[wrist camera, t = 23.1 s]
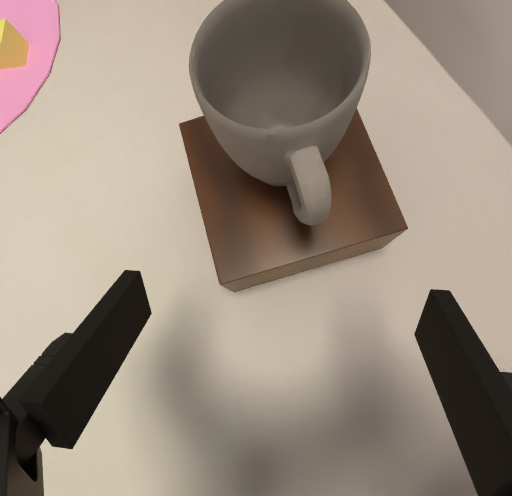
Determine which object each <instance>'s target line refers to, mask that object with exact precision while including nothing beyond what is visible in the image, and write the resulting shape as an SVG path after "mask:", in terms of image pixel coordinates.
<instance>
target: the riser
mask: <svg viewBox="0 0 512 496" xmlns="http://www.w3.org/2000/svg"><path fill="white" fill-rule="evenodd" d="M179 126H180V130H181V134H182V138H183V142H184V146H185V150H186V154H187V158H188V162H189V166H190V170H191V173H192V177H193V181H194V185H195V189H196V193H197V197H198V201H199V205H200V209H201V213H202V217H203V221H204V225H205V229H206V233H207V237H208V240H209V244H210V248H211V252H212V256H213V260H214V264H215V268H216V272H217V276H218V280H219V284H220V285H222V286H224V287H226V288H228V289H230V290H232V291H234V292H235V291H239V290H242V289H246V288H249V287H252V286H256V285H259V284H262V283H266V282H269V281H272V280H276V279H279V278H283V277H286V276H289V275H293V274H296V273H299V272H303V271H306V270H309V269H313V268H316V267H320V266H323V265H326V264H330V263H333V262H336V261H340V260H343V259H346V258H350V257H353V256H357V255H360V254H363V253H367V252H370V251H373V250H377V249H380V248H383V247H384V246H386V245H387V244H388V243H390V242H391V241H392V240H394V239H395V238H396V237H398V236H399V235H400V234H401V233H403V232H404V231H405V230H407V229H408V227H407V225H406V222H405V220H404V218H403V215H402V213H401V211H400V208H399V206H398V204H397V201H396V199H395V197H394V194H393V192H392V190H391V187H390V185H389V183H388V180H387V178H386V176H385V173H384V171H383V169H382V166H381V164H380V162H379V159H378V157H377V155H376V152H375V150H374V148H373V145H372V143H371V141H370V138H369V136H368V134H367V131H366V129H365V127H364V124H363V122H362V120H361V117H360V115H359V113H358V110H357V108H356V110H355V113H354V115H353V117H352V120H351V122H350V124H349V126H348V128H347V130H346V132H345V134H344V136H343V137H342V139H341V141H340V142H339V144H338V145H337V147H336V148H335V150H334V151H333V152H332V154H331V155H330V156H329V157H328V159H327V160H326V161H325V162H324V166H325V168H326V171H327V174H328V177H329V181H330V187H331V210H330V214H329V216H328V217H327V219H326V220H325V221H324V222H322V223H319V224H316V225H307V224H304V223H302V222H300V221H299V220H298V218H297V217H296V215H295V214H294V211H293V205H292V201H291V198H290V195H289V192H288V189H287V186H273V185H269V184H267V183H264V182H263V181H261V180H259V179H257V178H255V177H253V176H251V175H250V174H248V173H247V172H245V171H244V170H243V169H242V168H240V167H239V166H238V165H237V164H236V163H235V162H234V161H233V160H232V159H231V158H230V157H229V155H228V154H227V153H226V152H225V150H224V149H223V148H222V146H221V145H220V143H219V142H218V140H217V138H216V137H215V135H214V133H213V132H212V130H211V128H210V126H209V124H208V122H207V120H206V118H205V116H202V117H199V118H195V119H192V120H189V121H186V122H183V123H180V124H179Z"/></svg>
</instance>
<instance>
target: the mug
mask: <svg viewBox="0 0 512 496" xmlns="http://www.w3.org/2000/svg"><path fill="white" fill-rule="evenodd" d="M370 57H371V46H370V39H369V35H368V32H367V29H366V27H365V25H364V23H363V21H362V19H361V17H360V15H359V14H358V13H357V11H356V10H355V9H354V8H353V6H352V5H351V4H350V3H349V2H348V1H347V0H224V1H223V2H222V3H220V4H219V5H218V6H217V7H216V8H215V9H214V10H213V11H212V12H211V13H210V14H209V15H208V16H207V17H206V19H205V20H204V21H203V23H202V24H201V26H200V28H199V30H198V32H197V34H196V36H195V39H194V41H193V44H192V47H191V51H190V58H189V72H190V78H191V82H192V86H193V89H194V93H195V96H196V98H197V101H198V103H199V105H200V108H201V110H202V112H203V114H204V116H205V118H206V120H207V122H208V124H209V126H210V128H211V130H212V132H213V133H214V135H215V137H216V138H217V140H218V142H219V143H220V145H221V146H222V148H223V149H224V150H225V152H226V153H227V154H228V155H229V157H230V158H231V159H232V160H233V161H234V162H235V163H236V164H237V165H238V166H239V167H240V168H242V169H243V170H244V171H245V172H247V173H248V174H250V175H251V176H253V177H255V178H257V179H259V180H261V181H263V182H264V183H267V184H269V185H273V186H287V189H288V192H289V195H290V198H291V201H292V205H293V211H294V214H295V215H296V217H297V218H298V220H299V221H300V222H302V223H304V224H307V225H316V224H319V223H322V222H324V221H325V220H326V219H327V217H328V216H329V214H330V210H331V187H330V181H329V177H328V174H327V171H326V168H325V166H324V162H325V161H326V160H327V159H328V157H329V156H330V155H331V154H332V152H333V151H334V150H335V148H336V147H337V145H338V144H339V142H340V141H341V139H342V137H343V136H344V134H345V132H346V130H347V128H348V126H349V124H350V122H351V120H352V117H353V115H354V113H355V110H356V108H357V105H358V102H359V100H360V97H361V94H362V92H363V88H364V85H365V82H366V79H367V75H368V70H369V65H370Z"/></svg>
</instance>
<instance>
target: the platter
mask: <svg viewBox="0 0 512 496" xmlns="http://www.w3.org/2000/svg"><path fill="white" fill-rule="evenodd" d="M59 41H60V24H59V6H58V4H57V2H56V0H0V133H1V132H2V131H3V130H4V129H5V128H6V127H8V126H9V125H10V124H11V123H12V122H13V121H14V120H15V119H16V118H17V117H19V116H20V115H21V114H22V113H23V112H24V111H25V110H26V109H27V107H28V106H29V104H30V103H31V101H32V100H33V98H34V97H35V95H36V94H37V92H38V91H39V89H40V88H41V86H42V85H43V83H44V82H45V80H46V79H47V77H48V76H49V74H50V70H51V67H52V64H53V61H54V57H55V54H56V51H57V48H58V44H59Z"/></svg>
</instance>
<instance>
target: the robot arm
mask: <svg viewBox="0 0 512 496" xmlns="http://www.w3.org/2000/svg"><path fill="white" fill-rule="evenodd" d="M151 314H152V313H151V309H150V305H149V302H148V298H147V294H146V291H145V287H144V284H143V280H142V276H141V273H140V271H131V270H125V271H124V272H123V273H122V274H121V276H120V277H119V278H118V279H117V280H116V282H115V283H114V284H113V285H112V287H111V288H110V289H109V290H108V291H107V293H106V294H105V295H104V296H103V297H102V299H101V300H100V301H99V302H98V304H97V305H96V306H95V307H94V308H93V310H92V311H91V312H90V313H89V314H88V316H87V317H86V318H85V319H84V321H83V322H82V323H81V324H80V325H79V327H78V328H77V329H76V330H75V331H74V333H64V334H63V335H61V336H60V337H58V338H57V339H56V340H54V341H53V342H52V343H51V344H50V345H49V346H48V347H47V348H46V349H45V351H44V352H43V353H42V355H41V356H39V357H38V359H37V360H36V361H35V362H34V365H31V367H30V368H29V369H28V370H27V371H26V372H25V373H24V375H23V376H22V377H21V378H20V379H19V380H18V382H17V383H16V384H15V385H14V386H13V387H12V388H11V390H10V391H9V392H8V393H7V394H6V395H5V396H4V398H3V399H1V397H0V496H44V488H43V466H42V452H41V449H40V445H41V444H42V442H43V441H44V439H45V438H46V439H47V440H48V441H49V443H50V444H51V445H52V446H53V447H60V448H67V449H73V447H74V445H75V444H76V442H77V440H78V439H79V437H80V435H81V434H82V432H83V430H84V428H85V427H86V425H87V423H88V422H89V420H90V418H91V416H92V415H93V413H94V411H95V410H96V408H97V406H98V404H99V403H100V401H101V399H102V398H103V396H104V394H105V392H106V391H107V389H108V387H109V386H110V384H111V382H112V380H113V379H114V377H115V375H116V374H117V372H118V370H119V368H120V367H121V365H122V363H123V362H124V360H125V358H126V356H127V355H128V353H129V351H130V350H131V348H132V346H133V344H134V343H135V341H136V339H137V338H138V336H139V334H140V332H141V331H142V329H143V327H144V326H145V324H146V322H147V320H148V319H149V317H150V315H151ZM414 335H415V337H416V340H417V342H418V345H419V347H420V350H421V352H422V355H423V358H424V360H425V363H426V365H427V368H428V370H429V373H430V375H431V378H432V380H433V383H434V385H435V388H436V390H437V393H438V395H439V398H440V401H441V403H442V406H443V408H444V411H445V413H446V416H447V418H448V421H449V423H450V426H451V428H452V431H453V433H454V436H455V438H456V441H457V444H458V446H459V449H460V451H461V454H462V456H463V459H464V461H465V464H466V466H467V469H468V471H469V474H470V476H471V479H472V481H473V484H474V487H475V489H476V492H477V494H478V496H512V373H509V372H500V371H499V370H498V368H497V366H496V365H495V363H494V361H493V360H492V358H491V357H490V355H489V353H488V352H487V350H486V348H485V347H484V345H483V344H482V342H481V340H480V339H479V337H478V336H477V334H476V332H475V331H474V329H473V327H472V326H471V324H470V323H469V321H468V319H467V318H466V316H465V314H464V313H463V311H462V310H461V308H460V306H459V305H458V303H457V302H456V300H455V298H454V297H453V295H452V293H451V292H450V291H449V290H433V289H431V290H430V292H429V295H428V298H427V301H426V303H425V306H424V309H423V312H422V315H421V317H420V320H419V323H418V326H417V328H416V331H415V334H414Z"/></svg>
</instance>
